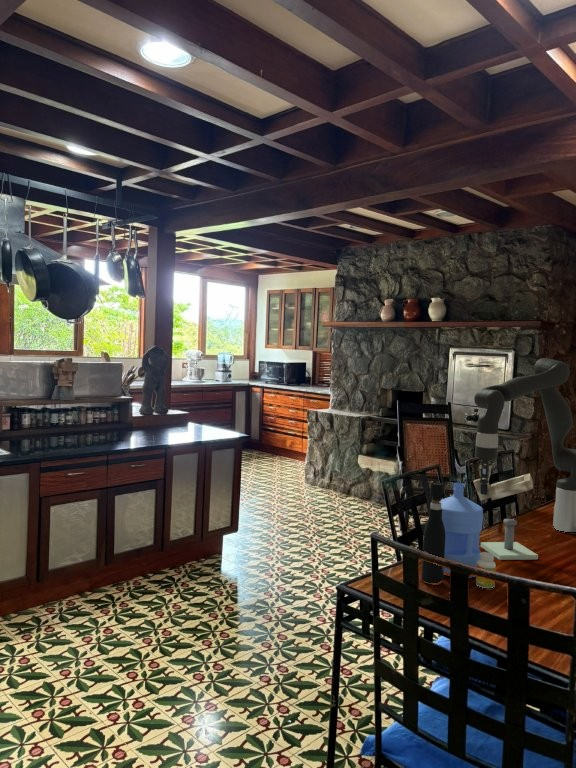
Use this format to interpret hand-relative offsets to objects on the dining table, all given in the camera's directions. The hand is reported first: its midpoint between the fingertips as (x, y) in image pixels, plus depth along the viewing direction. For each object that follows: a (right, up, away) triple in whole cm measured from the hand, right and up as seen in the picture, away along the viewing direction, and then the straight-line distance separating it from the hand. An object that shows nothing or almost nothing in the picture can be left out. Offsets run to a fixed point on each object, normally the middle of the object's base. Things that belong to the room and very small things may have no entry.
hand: (484, 493), depth 210 cm
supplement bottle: (-11, -22, -34) cm, 42 cm away
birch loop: (+7, +1, -3) cm, 8 cm away
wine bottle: (-27, -21, -32) cm, 47 cm away
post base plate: (+8, -21, -3) cm, 22 cm away
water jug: (-17, -21, -22) cm, 35 cm away
